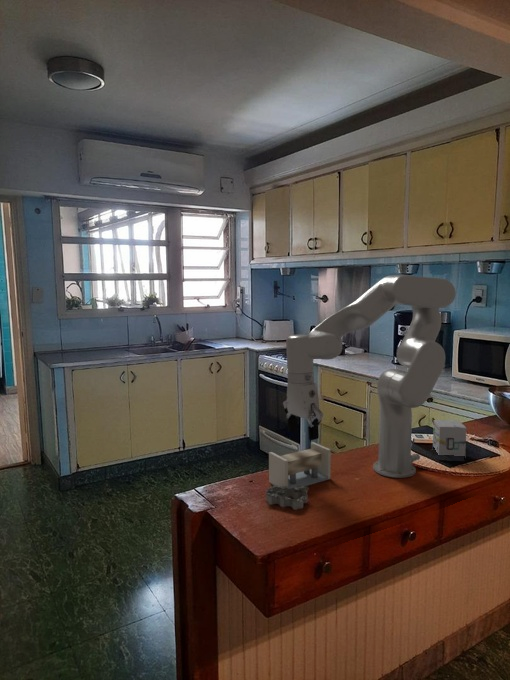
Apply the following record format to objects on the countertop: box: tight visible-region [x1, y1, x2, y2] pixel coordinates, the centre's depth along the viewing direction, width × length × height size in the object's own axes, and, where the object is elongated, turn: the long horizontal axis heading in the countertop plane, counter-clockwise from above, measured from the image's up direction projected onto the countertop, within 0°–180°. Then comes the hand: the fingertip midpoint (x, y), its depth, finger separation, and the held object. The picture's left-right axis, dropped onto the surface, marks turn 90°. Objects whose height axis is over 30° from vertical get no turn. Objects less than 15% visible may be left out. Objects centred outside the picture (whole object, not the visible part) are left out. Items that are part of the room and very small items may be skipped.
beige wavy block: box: [280, 448, 321, 475], centre depth 138 cm, size 12×5×4 cm, turn 122°
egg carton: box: [264, 484, 310, 511], centre depth 125 cm, size 11×8×4 cm
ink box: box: [432, 419, 467, 457], centre depth 156 cm, size 8×8×12 cm
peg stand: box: [268, 441, 332, 488], centre depth 138 cm, size 17×8×9 cm, turn 122°
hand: (303, 435), depth 137 cm, fingers open, 9 cm apart
